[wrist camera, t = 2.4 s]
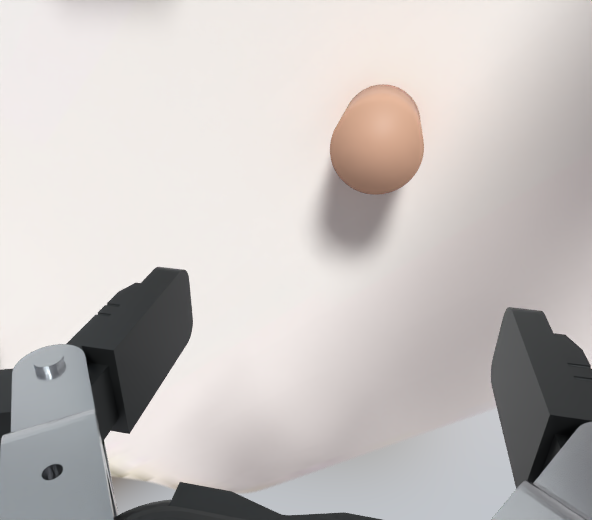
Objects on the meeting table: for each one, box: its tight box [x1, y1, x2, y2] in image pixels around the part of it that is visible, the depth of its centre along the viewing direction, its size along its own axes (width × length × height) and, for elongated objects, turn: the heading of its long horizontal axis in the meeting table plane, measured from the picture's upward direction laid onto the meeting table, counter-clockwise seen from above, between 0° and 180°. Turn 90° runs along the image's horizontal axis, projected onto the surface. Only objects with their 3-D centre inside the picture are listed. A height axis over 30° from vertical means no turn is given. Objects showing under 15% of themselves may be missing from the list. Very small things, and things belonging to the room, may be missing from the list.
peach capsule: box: [330, 85, 424, 194], centre depth 31 cm, size 5×5×7 cm
